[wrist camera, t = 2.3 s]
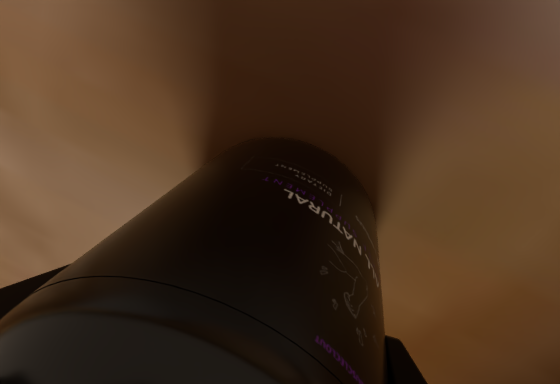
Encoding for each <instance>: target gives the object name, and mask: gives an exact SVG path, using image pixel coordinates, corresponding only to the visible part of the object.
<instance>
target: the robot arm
mask: <svg viewBox="0 0 560 384" xmlns="http://www.w3.org/2000/svg"><path fill="white" fill-rule="evenodd" d="M69 265H70V264H69ZM69 265H66V266H63V267H60V268H58V269H55V270H52V271H49V272H46V273H43V274H41V275H38V276H35V277H32V278H29V279H26V280H23V281H21V282H18V283H15V284H12V285H9V286H6V287H3V288H1V289H0V318H2V317H3V316H4V315H5V314H6V313H8V312H9V311H10V310H11V309H13V308H14V307H15V306H17V305H18V304H19V303H21V302H22V301H23V300H24V299H25V298H26V297H27V296H29V295H30V294H31V293H33V292H34V291H35V290H37V289H38V288H39V287H41V286H42V285H43V284H45V283H46V282H47V281H49V280H50V279H51V278H53V277H54V276H55V275H57V274H58V273H60V272H61V271H62V270H64V269H65V268H66V267H68V266H69ZM385 343H386V356H387V369H388V382H389V384H427V382H426V380H425V379H424V377H423V376H422V374H421V372H420V371H419V369H418V368H417V366H416V364H415V363H414V361H413V359H412V358H411V356H410V355H409V353H408V351H407V350H406V348H405V347H404V345H403V343H402V342H401V341H400V340H399V339H397V338H394V337H390V336H387V335H385Z"/></svg>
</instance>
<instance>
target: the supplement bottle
mask: <svg viewBox="0 0 560 384" xmlns="http://www.w3.org/2000/svg"><path fill="white" fill-rule="evenodd" d="M0 384H389V382H388V369H387V356H386V343H385V330H384V317H383V304H382V291H381V278H380V264H379V251H378V239H377V231H376V223H375V217H374V213H373V209H372V206H371V203H370V200H369V198H368V196H367V194H366V192H365V190H364V188H363V186H362V185H361V183H360V182H359V180H358V179H357V178H356V177H355V175H354V174H353V173H352V172H351V171H350V170H349V169H348V168H347V167H346V166H345V165H344V164H343V163H342V162H340V161H339V160H338V159H337V158H335V157H334V156H332V155H331V154H329V153H328V152H326V151H324V150H322V149H320V148H318V147H316V146H314V145H311V144H308V143H305V142H302V141H298V140H294V139H288V138H277V137H269V138H259V139H254V140H249V141H246V142H243V143H240V144H238V145H236V146H233V147H231V148H230V149H228V150H226V151H224V152H223V153H221V154H220V155H218V156H217V157H215V158H214V159H212V160H211V161H210V162H208V163H207V164H205V165H204V166H203V167H201V168H200V169H199V170H197V171H196V172H195V173H193V174H192V175H190V176H189V177H188V178H186V179H185V180H184V181H182V182H181V183H180V184H178V185H177V186H176V187H174V188H173V189H172V190H170V191H169V192H168V193H166V194H165V195H163V196H162V197H161V198H159V199H158V200H157V201H155V202H154V203H153V204H151V205H150V206H149V207H147V208H146V209H145V210H143V211H142V212H141V213H139V214H138V215H136V216H135V217H134V218H132V219H131V220H130V221H128V222H127V223H126V224H124V225H123V226H122V227H120V228H119V229H118V230H116V231H115V232H114V233H112V234H111V235H109V236H108V237H107V238H105V239H104V240H103V241H101V242H100V243H99V244H97V245H96V246H95V247H93V248H92V249H91V250H89V251H88V252H86V253H85V254H84V255H82V256H81V257H80V258H78V259H77V260H76V261H74V262H73V263H72V264H70V265H69V266H68V267H66V268H65V269H64V270H62V271H61V272H60V273H58V274H57V275H55V276H54V277H53V278H51V279H50V280H49V281H47V282H46V283H45V284H43V285H42V286H41V287H39V288H38V289H37V290H35V291H34V292H33V293H31V294H30V295H29V296H27V297H26V298H25V299H24V300H23V301H22V302H21V303H19V304H18V305H17V306H15V307H14V308H13V309H11V310H10V311H9V312H8V313H6V314H5V315H4V316H3V317H2V318H0Z"/></svg>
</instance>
